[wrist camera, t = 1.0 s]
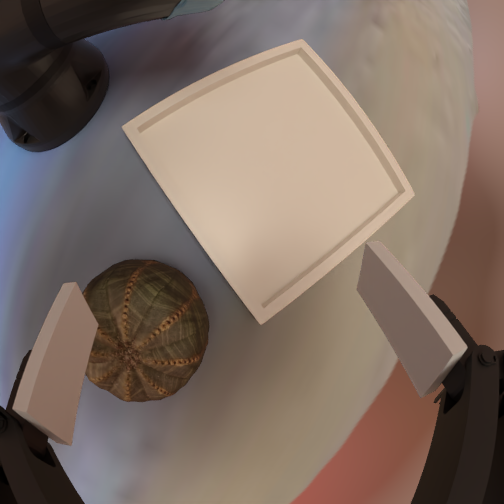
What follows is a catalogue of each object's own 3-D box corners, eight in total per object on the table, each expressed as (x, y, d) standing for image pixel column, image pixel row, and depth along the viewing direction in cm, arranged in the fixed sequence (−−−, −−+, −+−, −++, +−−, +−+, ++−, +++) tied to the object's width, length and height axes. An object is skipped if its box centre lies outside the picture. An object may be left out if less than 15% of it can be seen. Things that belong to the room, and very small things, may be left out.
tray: (126, 135, 26) (121, 126, 24) (296, 49, 29) (302, 38, 27) (255, 318, 29) (260, 325, 26) (402, 197, 32) (415, 194, 30)
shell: (86, 304, 26) (28, 336, 14) (157, 235, 27) (126, 227, 15) (154, 377, 27) (135, 444, 15) (228, 315, 28) (247, 360, 17)
